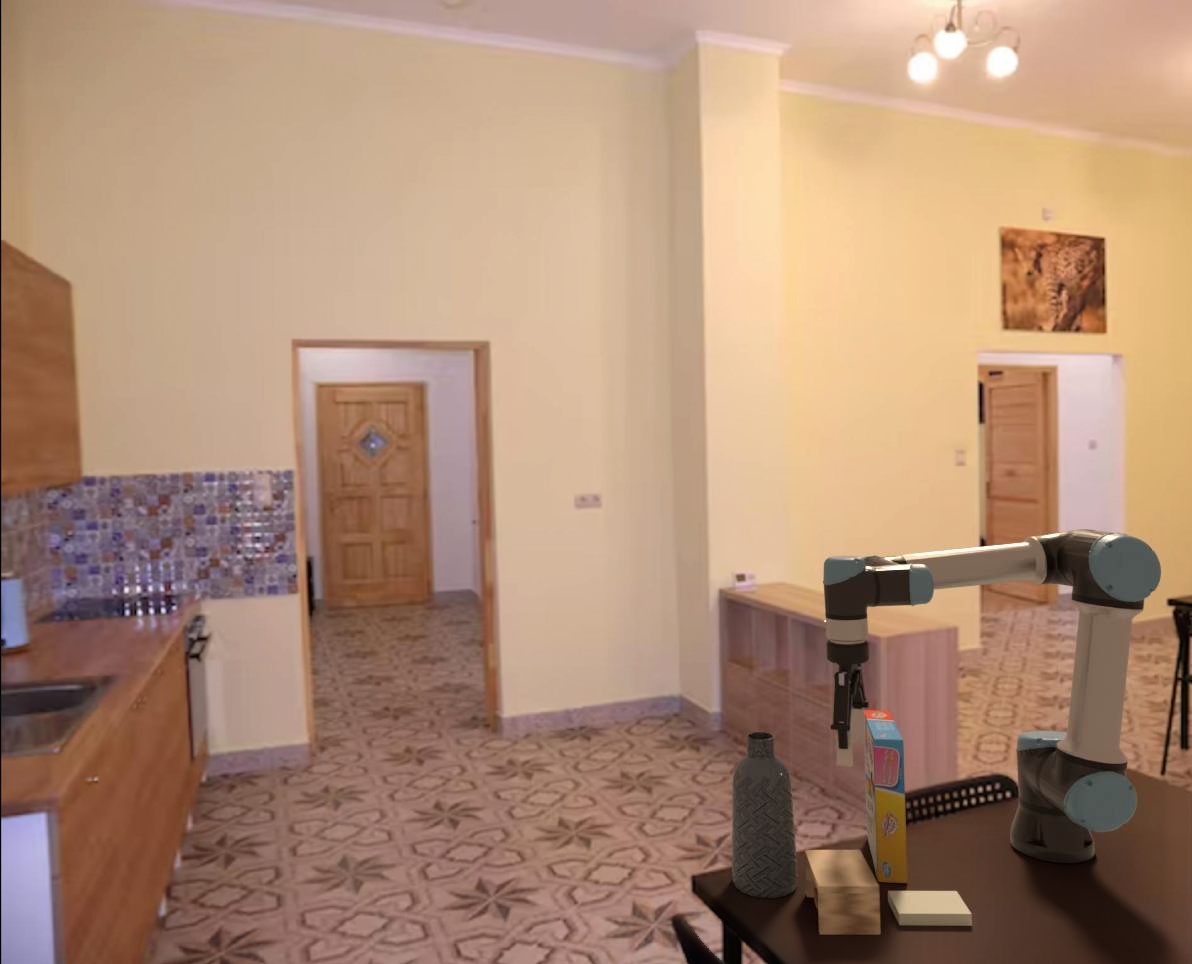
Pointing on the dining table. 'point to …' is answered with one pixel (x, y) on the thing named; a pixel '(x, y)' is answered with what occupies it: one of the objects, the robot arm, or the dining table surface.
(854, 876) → the overhang
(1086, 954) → the dining table surface
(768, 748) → the vase
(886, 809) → the game box
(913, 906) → the thin cream tile
